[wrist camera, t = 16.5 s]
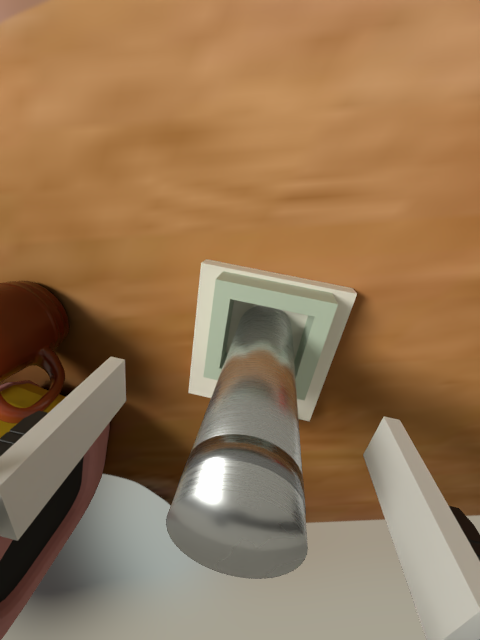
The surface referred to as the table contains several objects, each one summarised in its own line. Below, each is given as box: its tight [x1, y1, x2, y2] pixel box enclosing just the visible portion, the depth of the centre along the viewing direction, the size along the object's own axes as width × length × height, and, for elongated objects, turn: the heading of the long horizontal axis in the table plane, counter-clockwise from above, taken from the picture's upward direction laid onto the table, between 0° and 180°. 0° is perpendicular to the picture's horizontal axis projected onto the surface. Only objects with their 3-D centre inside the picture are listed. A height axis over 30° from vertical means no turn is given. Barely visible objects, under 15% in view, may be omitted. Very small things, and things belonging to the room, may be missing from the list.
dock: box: [188, 259, 357, 421], centre depth 22 cm, size 12×13×4 cm
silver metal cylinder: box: [166, 305, 308, 579], centre depth 15 cm, size 4×4×15 cm
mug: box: [0, 281, 69, 424], centre depth 22 cm, size 12×9×10 cm
